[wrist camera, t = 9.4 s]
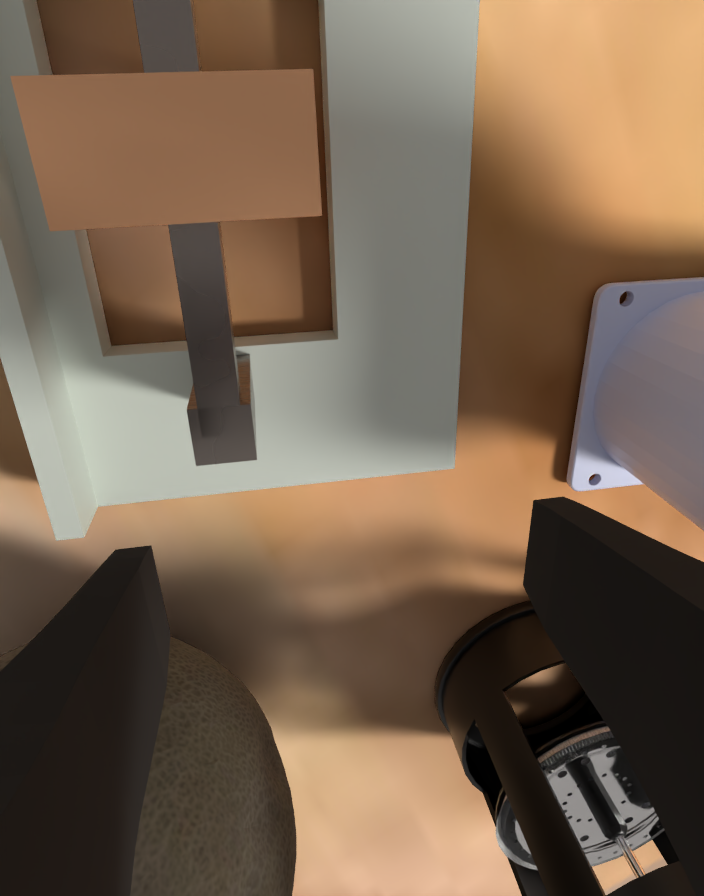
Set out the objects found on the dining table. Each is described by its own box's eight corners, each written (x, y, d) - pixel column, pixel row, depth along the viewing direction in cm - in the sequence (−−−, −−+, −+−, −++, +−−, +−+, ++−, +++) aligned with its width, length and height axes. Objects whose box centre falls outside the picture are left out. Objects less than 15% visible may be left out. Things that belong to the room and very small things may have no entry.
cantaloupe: (135, 471, 20) (-87, 1074, 7) (339, 697, 26) (436, 1239, 13) (-181, 665, 21) (-909, 1507, 8) (87, 836, 28) (-63, 1464, 14)
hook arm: (210, -12, 15) (188, -127, 9) (254, 387, 19) (257, 474, 14) (149, -13, 14) (88, -131, 9) (208, 390, 19) (193, 481, 14)
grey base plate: (485, -486, 12) (553, -671, 9) (444, 454, 22) (472, 493, 19) (-206, -572, 10) (-363, -831, 8) (81, 491, 20) (56, 540, 17)
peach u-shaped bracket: (291, 102, 15) (313, 68, 10) (299, 202, 16) (322, 215, 11) (89, 108, 14) (10, 76, 9) (111, 213, 15) (49, 231, 10)
